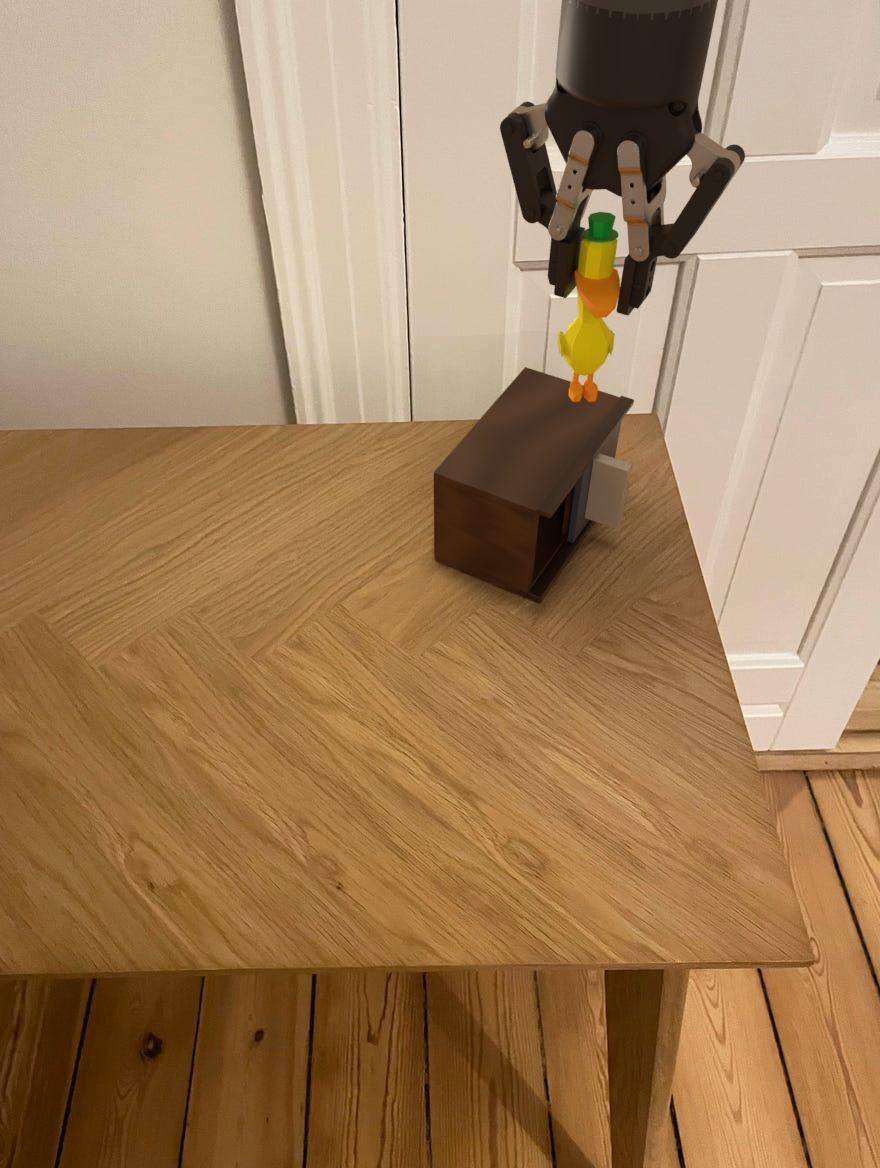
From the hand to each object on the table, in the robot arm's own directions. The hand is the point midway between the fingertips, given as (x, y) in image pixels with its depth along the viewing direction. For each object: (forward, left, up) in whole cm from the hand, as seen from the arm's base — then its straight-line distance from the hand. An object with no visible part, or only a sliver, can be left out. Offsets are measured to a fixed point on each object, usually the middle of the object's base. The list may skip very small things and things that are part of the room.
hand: (596, 298), depth 60 cm
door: (0, -9, -26) cm, 28 cm away
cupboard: (+6, -6, -27) cm, 29 cm away
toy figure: (0, 0, -7) cm, 7 cm away
